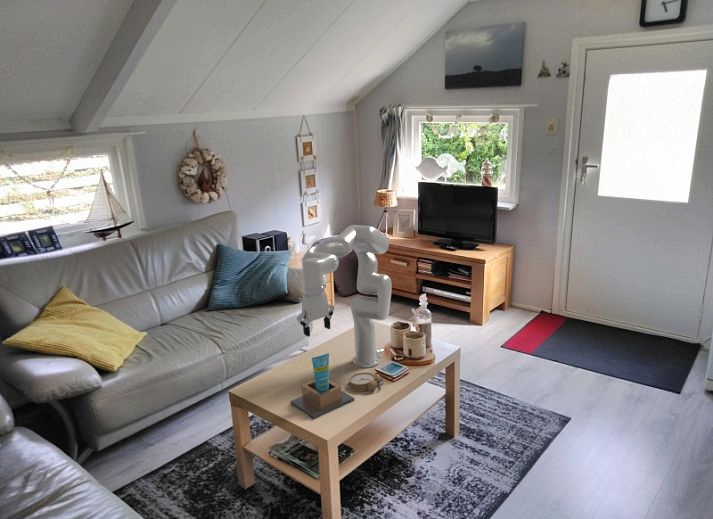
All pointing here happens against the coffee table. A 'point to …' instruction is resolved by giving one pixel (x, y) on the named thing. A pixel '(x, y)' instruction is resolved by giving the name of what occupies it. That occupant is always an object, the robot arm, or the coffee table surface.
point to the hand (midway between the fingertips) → (317, 331)
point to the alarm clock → (365, 381)
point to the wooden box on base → (320, 399)
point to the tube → (321, 372)
